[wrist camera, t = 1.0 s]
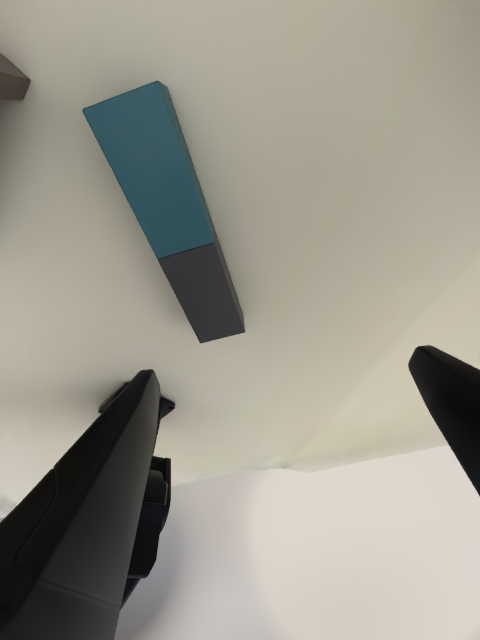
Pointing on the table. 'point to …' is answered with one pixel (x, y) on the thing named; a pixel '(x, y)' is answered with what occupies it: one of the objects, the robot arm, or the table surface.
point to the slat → (168, 203)
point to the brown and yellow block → (12, 81)
